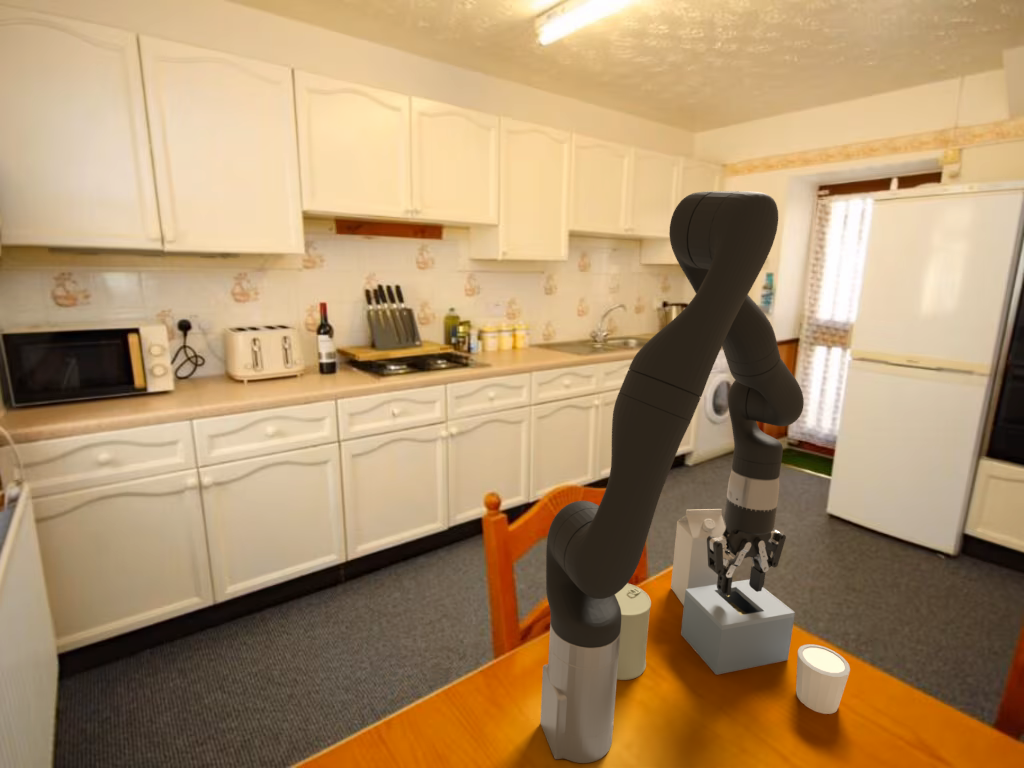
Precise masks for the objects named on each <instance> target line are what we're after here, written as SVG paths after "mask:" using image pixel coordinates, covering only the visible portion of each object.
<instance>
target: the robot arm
mask: <svg viewBox="0 0 1024 768" xmlns="http://www.w3.org/2000/svg"><path fill="white" fill-rule="evenodd" d="M778 226H779V209H778V205H777V202H776V201H775V199H774V198H773V197H772V196H770V195H769V194H767V193H764V192H761V191H739V190H738V191H736V190H735V191H734V190H731V191H730V190H728V191H727V190H725V191H724V190H723V191H721V190H720V191H717V190H716V191H713V190H711V191H710V190H708V191H700V192H693V193H691V194H689V195H686V196H685V197H684V198H683V199H681V201H680V202H679V203H678V204H677V205H676V207H675V208H674V211H673V213H672V215H671V219H670V224H669V232H668V233H669V242H670V245H671V249H672V252H673V254H674V257H675V260H676V261H677V263H678V264H679V267H680V269H681V270H682V271H683V273H684V276H685V277H686V279H687V280H688V282H689V283H690V285H691V287H692V289H693V291H694V293H695V295H694V297H693V298H692V299H691V301H690V302H689V303H688V304H687V306H686V307H685V308H684V309H683V310H682V311H681V312H680V313H678V315H677V316H676V317H675V318H673V319H672V320H671V321H670V322H669V323H668V324H666V325H664V327H663V328H662V329H660V330H659V331H658V332H657V333H656V334H655V335H653V336H652V337H651V338H650V339H649V340H648V341H647V342H646V343H645V344H644V345H643V346H642V347H641V348H640V349H639V350H638V351H637V353H636V354H635V356H634V357H633V359H632V360H631V363H630V365H629V367H628V370H627V372H626V375H625V377H624V379H623V381H622V384H621V386H620V390H619V392H618V394H617V397H616V400H615V402H614V406H613V411H612V421H611V456H610V457H611V461H610V463H611V464H610V470H609V471H610V472H609V476H608V481H607V485H606V487H605V490H604V494H603V496H602V498H601V501H600V504H599V505H598V504H596V503H595V502H591V501H587V500H578V501H573V502H570V503H568V504H566V505H565V506H563V507H562V508H561V509H560V510H559V511H558V512H557V513H556V514H555V516H554V518H553V520H552V522H551V524H550V526H549V529H548V533H547V538H546V539H547V540H546V549H545V553H546V554H545V558H546V559H545V560H546V561H545V567H546V569H545V577H546V580H545V581H546V582H545V585H546V586H545V587H546V588H545V590H546V597H547V603H548V606H549V609H550V611H549V613H550V622H549V623H550V625H549V627H550V628H549V642H548V643H549V645H548V661H547V662H548V663H547V664H544V665H543V666H542V682H541V703H540V704H541V705H540V725H541V728H542V730H543V732H544V736H545V738H546V740H547V743H548V745H549V748H550V751H551V754H552V756H553V758H554V759H555V760H560V759H564V760H568V761H570V762H573V763H578V764H579V763H580V764H589V763H592V762H593V763H595V762H596V761H598V760H601V759H602V758H603V757H605V755H606V754H607V753H608V752H609V750H610V749H611V746H612V743H613V731H614V721H615V720H614V719H615V707H616V694H617V693H616V692H617V681H618V679H617V670H618V657H619V645H620V633H621V609H620V606H619V603H618V601H617V598H616V596H615V594H616V593H618V592H619V591H620V590H622V589H623V587H624V586H625V585H626V584H627V583H629V582H630V580H631V579H632V577H633V576H634V574H635V572H636V571H637V567H638V565H639V563H640V560H641V558H642V555H643V552H644V549H645V545H646V542H647V539H648V536H649V532H650V528H651V525H652V522H653V520H654V515H655V512H656V509H657V505H658V502H659V499H660V497H661V495H662V491H663V489H664V485H665V484H666V481H667V479H668V476H669V474H670V470H672V469H671V468H672V465H673V463H674V461H675V458H676V455H677V453H678V451H679V447H680V445H681V442H682V441H683V438H684V437H685V435H686V432H687V431H688V428H689V426H690V424H691V422H692V419H693V417H694V415H695V413H696V410H697V408H698V405H699V403H700V401H701V397H703V396H702V395H703V393H704V390H705V387H706V385H707V384H708V383H707V382H708V380H709V378H710V374H711V372H712V370H713V367H714V365H715V363H716V361H717V358H718V355H719V353H720V351H721V349H722V350H723V354H724V357H725V360H726V363H727V366H728V369H729V371H730V374H731V376H732V377H733V379H734V380H733V382H732V384H731V386H730V388H729V390H728V394H727V405H728V413H729V417H730V423H731V429H732V435H733V444H734V446H733V455H732V465H731V469H730V470H731V471H730V475H729V478H728V484H727V491H726V499H725V500H726V501H725V510H724V517H723V520H724V524H725V527H726V529H725V531H724V533H723V535H722V536H720V537H717V538H714V537H713V536H709V537H708V538H707V554H708V567H709V568H711V569H712V570H713V571H714V572H715V573H716V574H718V580H717V589H718V590H719V591H720V592H721V593H722V594H723V595H724V596H725V597H727V596H730V594H731V586H732V582H733V578H734V577H733V574H734V572H735V570H736V569H737V567H740V566H741V564H742V562H743V560H744V559H747V558H750V559H751V562H752V564H753V565H751V569H750V576H749V579H750V581H749V585H750V587H751V588H753V589H754V590H755V591H756V592H759V591H761V590H762V587H764V586H765V579H766V572H768V571H769V570H770V568H777V567H778V565H779V562H780V559H781V556H782V552H783V548H784V545H785V542H786V538H787V536H786V535H785V534H784V533H783V532H781V531H779V530H778V529H776V528H775V524H776V523H775V522H776V516H777V509H778V502H779V495H780V494H779V493H780V473H781V465H782V460H783V455H784V453H783V451H784V448H783V444H782V443H781V441H780V440H779V439H776V437H773V436H771V435H769V434H767V433H766V432H763V431H762V430H761V429H760V427H759V425H758V423H762V424H767V425H770V426H771V425H772V426H776V427H787V426H791V425H793V424H794V423H796V422H797V421H798V420H799V418H800V417H801V415H802V413H803V410H804V406H805V405H804V403H805V402H804V401H805V400H804V393H803V391H802V388H801V386H800V384H799V383H798V380H797V379H796V377H795V376H794V375H793V373H792V372H791V371H790V369H789V368H788V366H787V365H786V363H785V362H784V361H783V360H782V358H781V355H780V350H779V346H778V341H777V338H776V333H775V331H774V327H773V326H772V324H771V321H770V320H769V318H768V317H767V315H766V314H765V313H764V311H763V310H762V309H761V308H760V307H759V305H758V304H757V303H756V302H755V301H754V300H753V299H752V298H751V296H750V295H749V293H750V292H751V289H752V287H753V286H754V285H755V284H754V283H755V282H756V280H757V279H758V276H759V275H760V273H761V271H762V268H764V265H765V263H766V261H767V258H768V256H769V255H770V252H771V249H772V247H773V246H774V245H773V244H774V241H775V238H776V234H777V232H778ZM724 545H725V546H724ZM732 555H734V557H733V556H732Z"/></svg>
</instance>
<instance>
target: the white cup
mask: <svg viewBox="0 0 1024 768" xmlns="http://www.w3.org/2000/svg"><path fill="white" fill-rule="evenodd" d="M796 663H797V664H796V683H795V684H796V686H795V687H796V688H795V691H796V692H795V693H796V697H797V698H798V700H799V701H800V703H801V704H804V706H805V707H807V708H808V709H810V710H812V711H814V712H816V713H819V714H822V715H823V714H824V715H827V714H829V715H832V714H834V713H836V712H837V711H838V710H839V708H840V703H841V700H842V697H843V694H844V691H845V689H846V685H847V681H848V679H849V675H850V672H851V668H850V664H849V663H848V661H847V660H846V659H845V658H844V657H843V656H842V655H841V654H839V653H837V651H834V650H832V649H830V648H828V647H826V646H823V645H819V644H809V643H808V644H803V645H800V646H799V648H798V650H797V662H796Z"/></svg>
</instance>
